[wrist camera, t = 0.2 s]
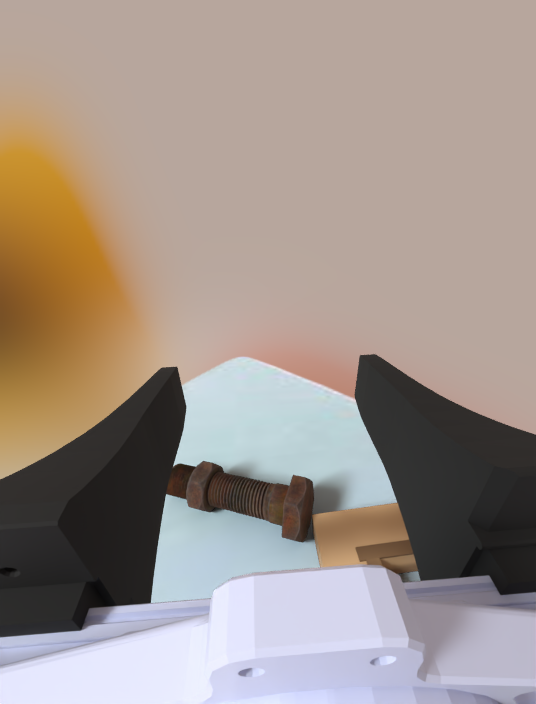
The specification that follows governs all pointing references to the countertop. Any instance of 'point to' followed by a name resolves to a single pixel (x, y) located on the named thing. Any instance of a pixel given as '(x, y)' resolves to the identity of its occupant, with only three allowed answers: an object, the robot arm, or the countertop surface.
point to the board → (364, 538)
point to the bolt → (246, 496)
